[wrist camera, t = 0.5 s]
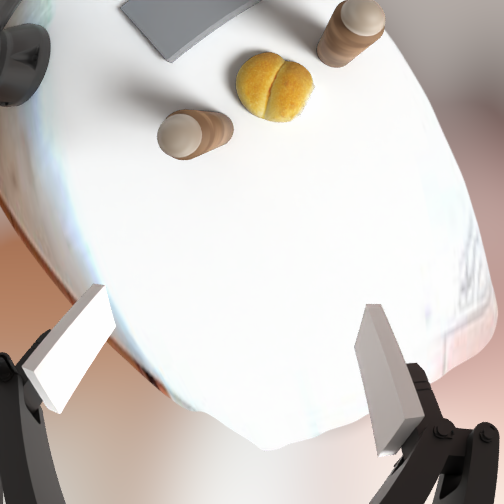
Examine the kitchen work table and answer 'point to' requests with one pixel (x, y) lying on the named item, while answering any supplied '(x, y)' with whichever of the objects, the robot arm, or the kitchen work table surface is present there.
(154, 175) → the kitchen work table surface
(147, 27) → the slate board
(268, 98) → the bread roll
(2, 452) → the robot arm
